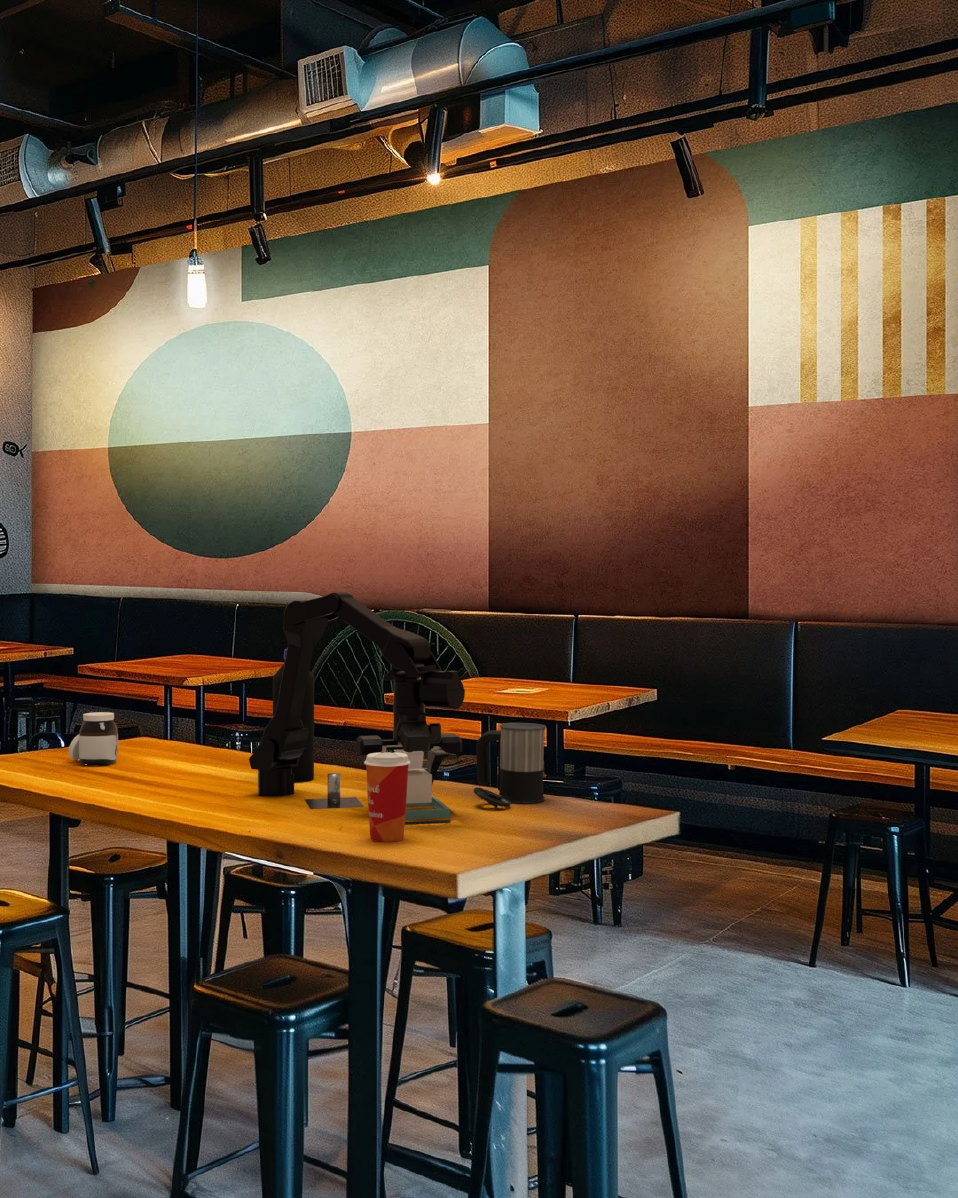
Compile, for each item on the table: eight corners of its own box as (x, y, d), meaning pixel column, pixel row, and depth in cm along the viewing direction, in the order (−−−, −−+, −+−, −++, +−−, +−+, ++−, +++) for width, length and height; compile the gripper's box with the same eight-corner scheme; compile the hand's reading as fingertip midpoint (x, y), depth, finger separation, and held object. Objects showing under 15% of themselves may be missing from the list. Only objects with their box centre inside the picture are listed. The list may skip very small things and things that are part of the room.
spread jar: (108, 767, 272) (108, 716, 272) (58, 767, 272) (58, 716, 272) (124, 759, 284) (124, 710, 284) (77, 759, 284) (77, 710, 284)
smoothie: (420, 797, 238) (421, 726, 237) (389, 795, 239) (390, 725, 239) (428, 791, 244) (429, 722, 244) (398, 790, 245) (398, 721, 245)
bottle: (264, 781, 255) (265, 649, 254) (286, 774, 263) (286, 647, 262) (300, 784, 251) (301, 651, 251) (321, 777, 260) (321, 648, 259)
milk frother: (544, 796, 240) (544, 722, 239) (549, 811, 224) (549, 732, 224) (473, 795, 240) (473, 721, 239) (473, 811, 224) (473, 732, 223)
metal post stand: (310, 814, 219) (310, 779, 219) (304, 804, 229) (304, 770, 229) (364, 812, 222) (364, 777, 222) (355, 802, 231) (356, 768, 231)
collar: (386, 797, 219) (386, 769, 219) (423, 795, 221) (423, 768, 221) (393, 804, 212) (393, 776, 212) (431, 802, 214) (431, 774, 214)
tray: (381, 826, 209) (381, 812, 209) (369, 812, 221) (369, 799, 221) (450, 823, 212) (450, 809, 212) (434, 809, 224) (434, 796, 224)
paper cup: (364, 833, 203) (364, 751, 203) (409, 833, 204) (409, 751, 204) (363, 844, 195) (363, 758, 195) (410, 843, 196) (411, 758, 196)
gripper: (365, 712, 206) (365, 802, 207) (470, 709, 211) (469, 797, 211) (355, 705, 217) (354, 790, 217) (455, 703, 222) (454, 787, 222)
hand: (408, 791), depth 217 cm, fingers closed on collar, 7 cm apart
